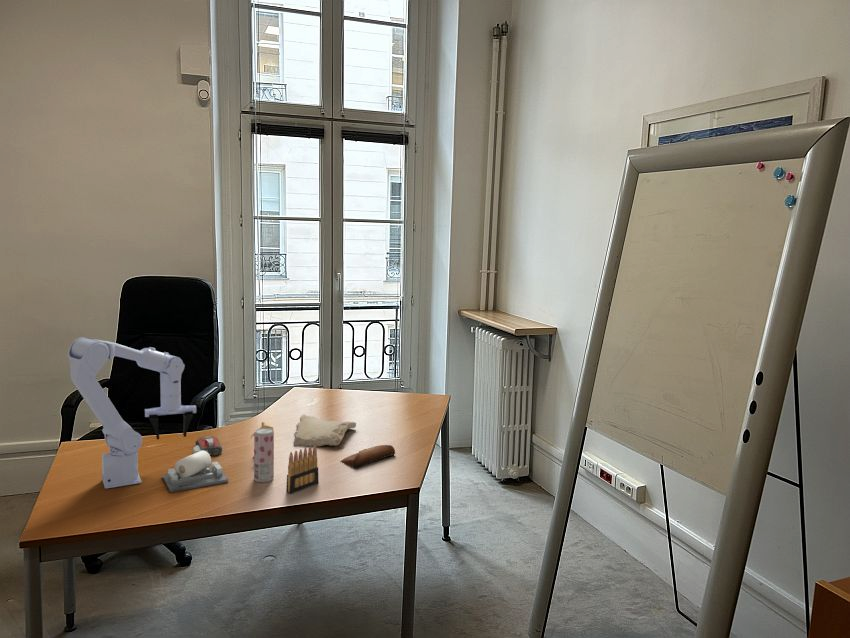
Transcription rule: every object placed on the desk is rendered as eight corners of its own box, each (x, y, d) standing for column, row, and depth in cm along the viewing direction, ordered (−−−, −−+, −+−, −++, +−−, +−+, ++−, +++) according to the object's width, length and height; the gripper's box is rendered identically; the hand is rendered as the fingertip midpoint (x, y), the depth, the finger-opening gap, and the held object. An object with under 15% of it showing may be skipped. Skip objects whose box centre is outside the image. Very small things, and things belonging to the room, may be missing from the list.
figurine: (268, 451, 211) (268, 417, 210) (277, 456, 207) (278, 421, 206) (245, 457, 206) (245, 421, 204) (255, 462, 201) (255, 426, 200)
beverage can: (276, 475, 191) (276, 428, 189) (270, 483, 186) (270, 434, 184) (257, 474, 192) (257, 427, 190) (251, 482, 186) (251, 433, 184)
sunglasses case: (377, 448, 218) (385, 435, 215) (389, 463, 215) (397, 450, 212) (338, 462, 205) (345, 447, 202) (350, 478, 201) (358, 463, 198)
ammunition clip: (290, 494, 179) (290, 453, 177) (286, 492, 180) (286, 451, 178) (318, 483, 187) (319, 444, 186) (314, 481, 188) (315, 442, 187)
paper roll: (191, 478, 180) (187, 459, 180) (176, 479, 183) (172, 460, 182) (213, 467, 189) (209, 449, 188) (198, 468, 191) (195, 451, 191)
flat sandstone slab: (284, 447, 219) (339, 448, 216) (282, 426, 218) (338, 426, 215) (308, 429, 243) (359, 429, 239) (307, 410, 242) (357, 409, 239)
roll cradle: (170, 492, 177) (170, 480, 176) (162, 477, 187) (162, 466, 186) (228, 482, 185) (228, 471, 185) (217, 468, 195) (217, 457, 195)
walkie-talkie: (189, 446, 215) (197, 466, 197) (189, 433, 214) (197, 453, 196) (216, 443, 219) (226, 463, 201) (216, 431, 218) (226, 450, 200)
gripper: (145, 399, 186) (146, 443, 188) (197, 395, 192) (197, 438, 194) (144, 393, 192) (145, 436, 194) (194, 389, 198) (195, 431, 200)
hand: (171, 437), depth 194 cm, fingers open, 7 cm apart
